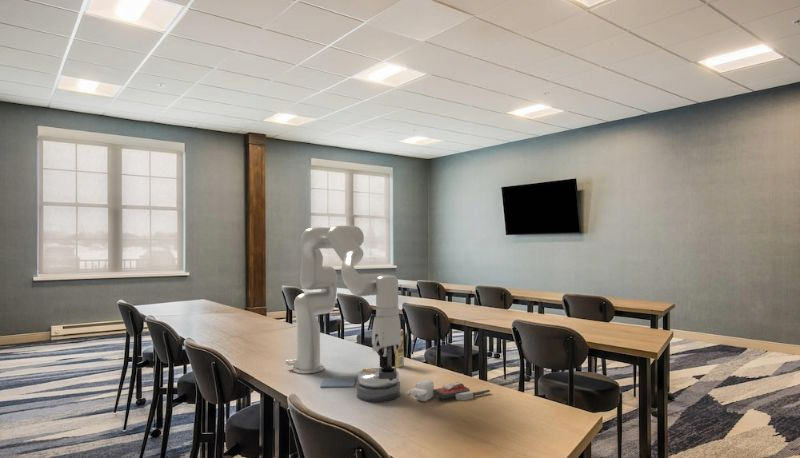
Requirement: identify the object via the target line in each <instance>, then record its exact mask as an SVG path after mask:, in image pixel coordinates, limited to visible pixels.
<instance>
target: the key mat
mask: <svg viewBox="0 0 800 458" xmlns="http://www.w3.org/2000/svg"><path fill="white" fill-rule="evenodd" d="M355 382H356V377H353V376H352V377H323V379H322V382H321V384H320V388H321V389H324V388H325V389H326V388H327V389H328V388H329V389H330V388H332V389H334V388H335V389H336V388H339V389H340V388H354V387H355V384H356V383H355Z"/></svg>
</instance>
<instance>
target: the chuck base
mask: <svg viewBox="0 0 800 458" xmlns="http://www.w3.org/2000/svg"><path fill="white" fill-rule="evenodd" d="M400 397H401V382H400V381H399V383H398V384H397V385H396V386H394V387H390V388H384V389H370V388H364V387H361V386H360V385H358V381H357V382H356V398H357V399H358V400H360V401H361V402H362V401H363V402H366V403H374V404H375V403H376V404H377V403H387V402H389V403H390V402H392V401H396V400H397V399H399V398H400Z"/></svg>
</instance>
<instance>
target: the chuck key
mask: <svg viewBox="0 0 800 458" xmlns="http://www.w3.org/2000/svg"><path fill="white" fill-rule="evenodd" d="M386 356H387V357H388V368H387V369H385V368H383V372H392V368H393V366H392V346H389V347H387V352H386Z"/></svg>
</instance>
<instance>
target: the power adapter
mask: <svg viewBox="0 0 800 458" xmlns="http://www.w3.org/2000/svg"><path fill="white" fill-rule="evenodd" d="M434 385H435V384H434V381H433V380H430V379H422V380H420V381H417V382H416V385H415V387H414V388H411V390H410V392H408V393H407V394H406V395H407V396H408V397H409V396H413V397H414V398H415V399H416V400H417V401H420V402H428V401H429V400H431V399H433V398H434V397H433V396H434V389H435V387H434Z"/></svg>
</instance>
